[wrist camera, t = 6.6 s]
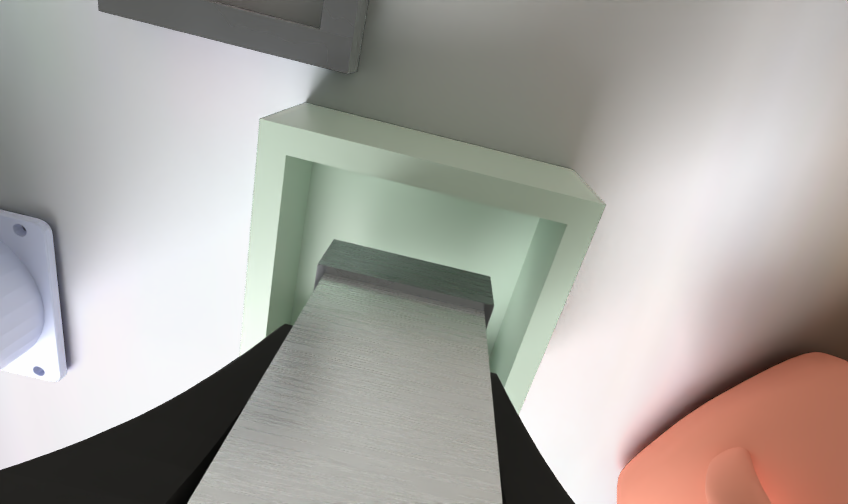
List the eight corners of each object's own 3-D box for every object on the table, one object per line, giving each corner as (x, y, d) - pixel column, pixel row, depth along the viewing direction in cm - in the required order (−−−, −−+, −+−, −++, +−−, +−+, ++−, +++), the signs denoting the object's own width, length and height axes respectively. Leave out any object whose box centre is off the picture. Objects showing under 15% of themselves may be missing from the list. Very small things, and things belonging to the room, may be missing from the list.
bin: (276, 330, 20) (236, 393, 16) (304, 102, 16) (259, 118, 12) (493, 381, 20) (501, 455, 17) (572, 169, 16) (606, 205, 13)
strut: (313, 366, 14) (164, 689, 7) (334, 239, 13) (164, 497, 5) (450, 397, 15) (442, 747, 7) (490, 276, 13) (531, 578, 6)
